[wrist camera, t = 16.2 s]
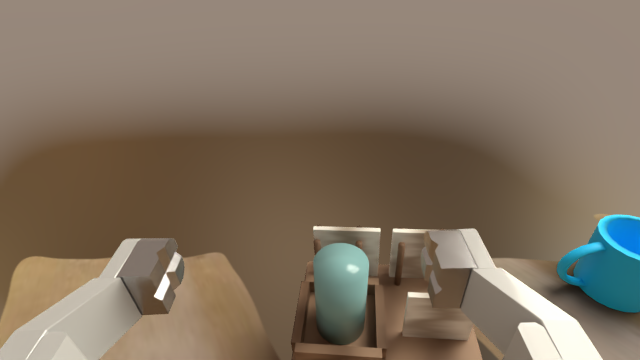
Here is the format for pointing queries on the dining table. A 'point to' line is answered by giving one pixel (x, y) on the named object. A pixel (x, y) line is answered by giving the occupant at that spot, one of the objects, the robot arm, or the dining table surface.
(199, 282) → the dining table surface
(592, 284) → the mug
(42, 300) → the dining table surface
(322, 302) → the teal glossy cylinder
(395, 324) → the rack
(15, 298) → the dining table surface
